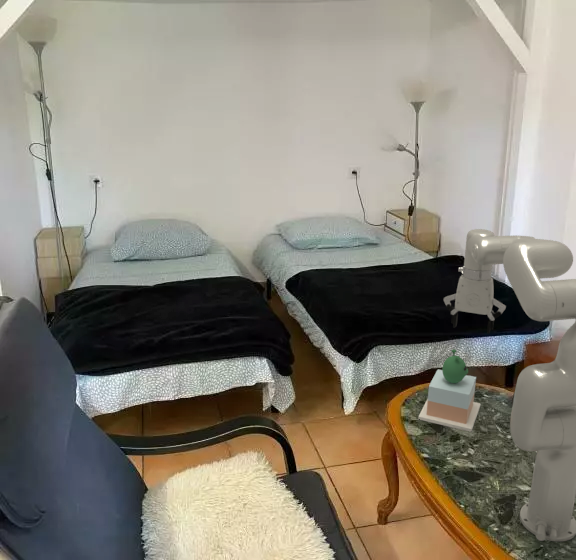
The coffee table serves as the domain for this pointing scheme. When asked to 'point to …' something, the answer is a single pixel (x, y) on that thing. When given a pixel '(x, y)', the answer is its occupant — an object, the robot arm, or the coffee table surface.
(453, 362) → the alien toy
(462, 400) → the brick tower
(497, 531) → the coffee table surface
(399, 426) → the coffee table surface
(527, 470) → the coffee table surface
